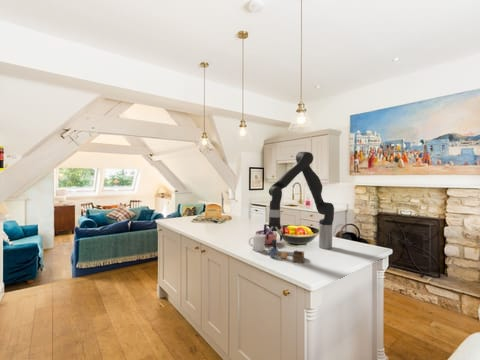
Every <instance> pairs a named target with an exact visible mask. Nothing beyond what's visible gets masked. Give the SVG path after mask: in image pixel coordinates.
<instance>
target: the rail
mask: <svg viewBox="0 0 480 360" xmlns="http://www.w3.org/2000/svg"><path fill="white" fill-rule="evenodd" d="M270 248H271V247H268V249H267V250H268V251H267V254H268V255H270V253H271V251H270ZM295 251H298V250H297V249H296V250H295ZM282 252H285V253H286V254H287V257H289V256H290V257H293V255H294V251H286V250H285V251H284V250H278V252H275V255H276V256H277V255H278V256H281V253H282Z"/></svg>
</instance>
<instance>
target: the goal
mask: <svg viewBox="0 0 480 360" xmlns="http://www.w3.org/2000/svg"><path fill="white" fill-rule="evenodd" d="M293 252H294V255H293V256H292V263H298V264H305V251H301V250H297V251H296V250H293Z"/></svg>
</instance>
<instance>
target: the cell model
mask: <svg viewBox="0 0 480 360" xmlns="http://www.w3.org/2000/svg"><path fill="white" fill-rule="evenodd" d="M269 229H270V228H269V227H267V228H266V231H268V230H269ZM255 234H262V235H265V245H272V239H277V237H278V232H276V231H270V232H269V233H268V234H269V240H267V239H266V233H264V229H263V230H257V231H255Z"/></svg>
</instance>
